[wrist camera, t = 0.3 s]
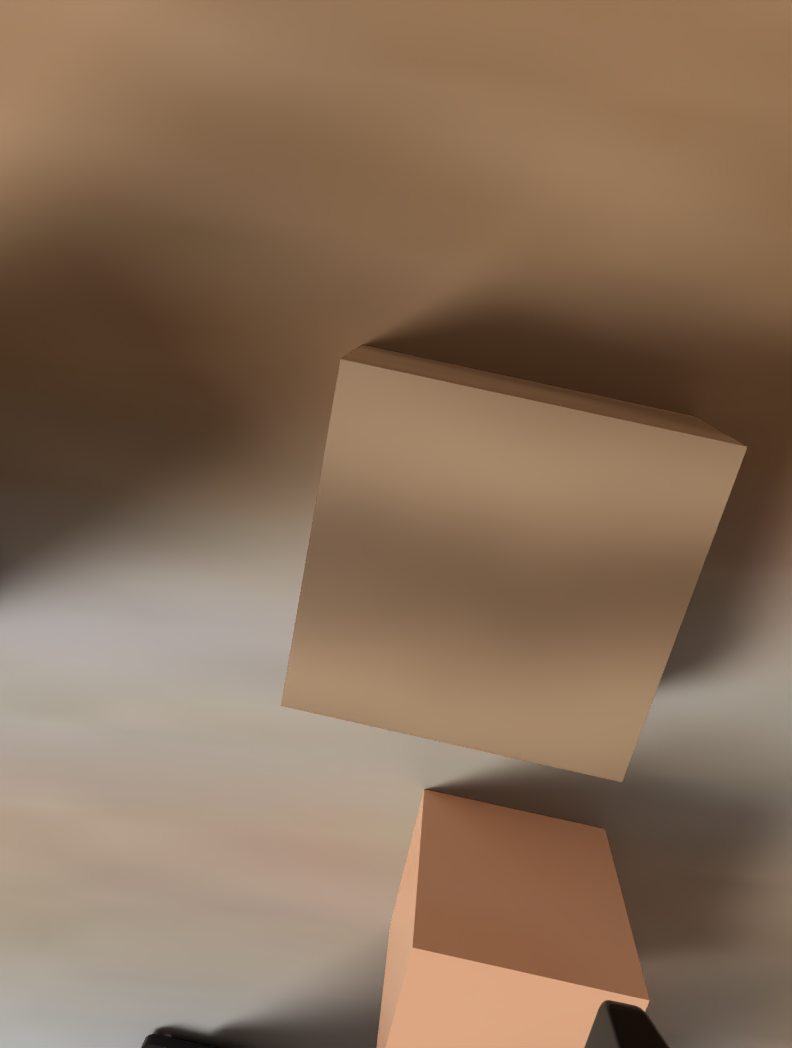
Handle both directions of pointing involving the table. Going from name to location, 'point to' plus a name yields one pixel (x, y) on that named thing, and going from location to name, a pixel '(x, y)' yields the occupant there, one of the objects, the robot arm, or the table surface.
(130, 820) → the table surface
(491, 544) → the block
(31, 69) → the table surface
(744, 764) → the table surface
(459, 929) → the cube
